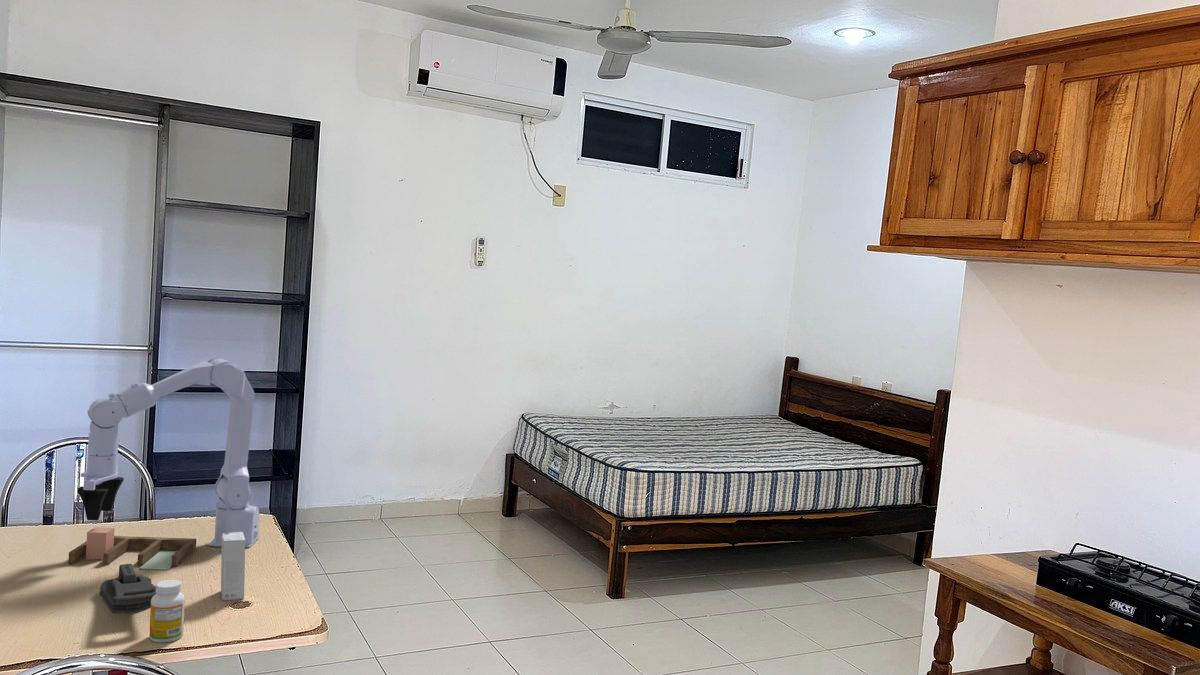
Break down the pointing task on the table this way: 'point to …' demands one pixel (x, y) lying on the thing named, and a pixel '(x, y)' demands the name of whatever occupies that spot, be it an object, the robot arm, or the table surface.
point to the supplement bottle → (167, 612)
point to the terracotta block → (99, 542)
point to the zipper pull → (127, 591)
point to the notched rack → (145, 551)
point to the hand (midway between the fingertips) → (99, 515)
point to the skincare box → (232, 566)
